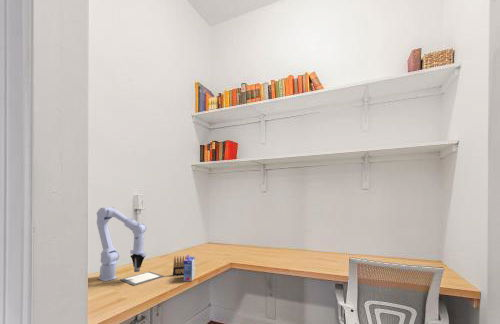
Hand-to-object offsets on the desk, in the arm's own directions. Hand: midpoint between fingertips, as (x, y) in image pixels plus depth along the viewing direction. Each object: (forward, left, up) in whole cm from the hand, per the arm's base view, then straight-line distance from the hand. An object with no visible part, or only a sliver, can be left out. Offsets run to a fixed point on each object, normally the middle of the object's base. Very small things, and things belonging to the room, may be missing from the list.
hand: (137, 267), depth 152 cm
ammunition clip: (+14, +23, -8) cm, 28 cm away
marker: (0, 0, -2) cm, 2 cm away
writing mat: (0, +4, -8) cm, 9 cm away
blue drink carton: (+24, +21, -8) cm, 33 cm away
